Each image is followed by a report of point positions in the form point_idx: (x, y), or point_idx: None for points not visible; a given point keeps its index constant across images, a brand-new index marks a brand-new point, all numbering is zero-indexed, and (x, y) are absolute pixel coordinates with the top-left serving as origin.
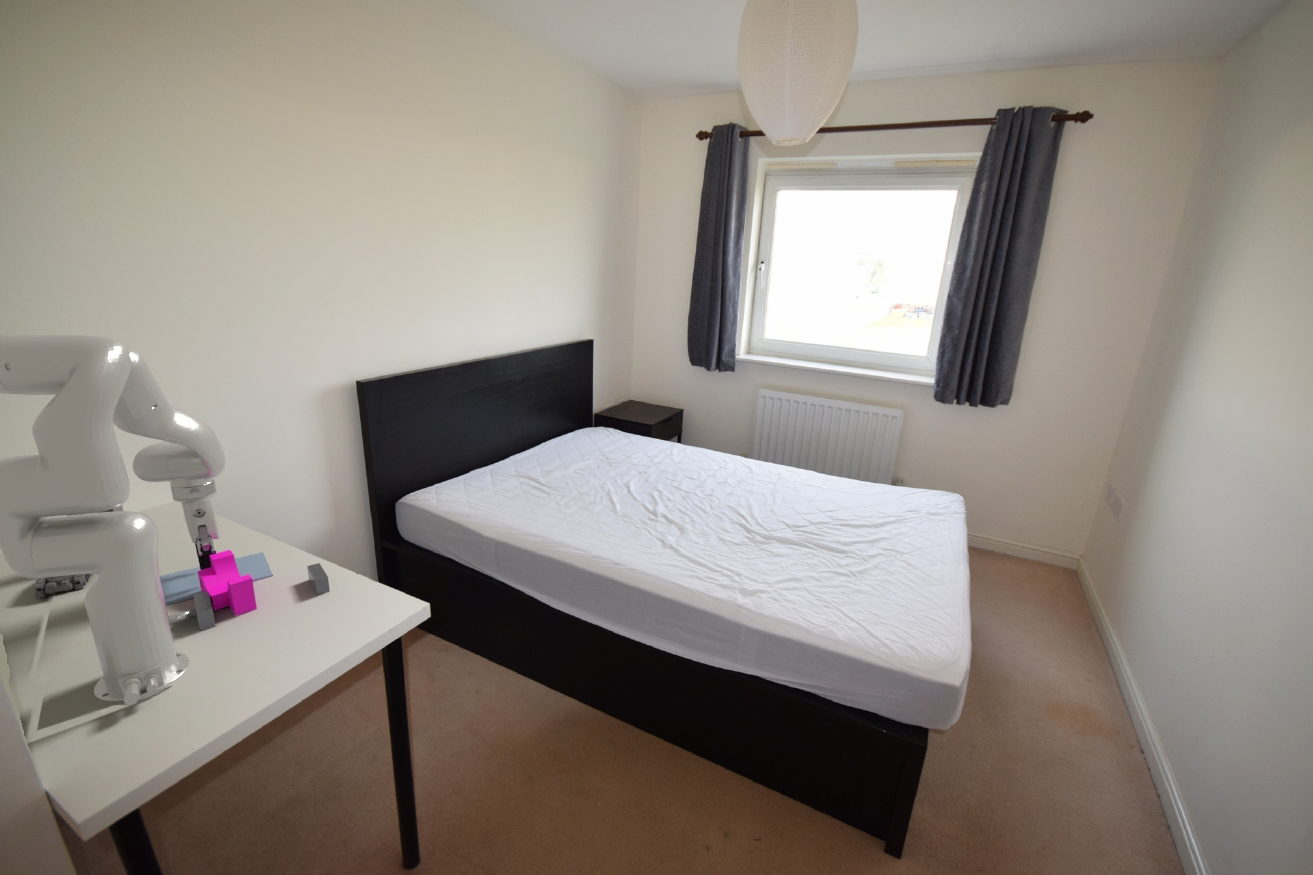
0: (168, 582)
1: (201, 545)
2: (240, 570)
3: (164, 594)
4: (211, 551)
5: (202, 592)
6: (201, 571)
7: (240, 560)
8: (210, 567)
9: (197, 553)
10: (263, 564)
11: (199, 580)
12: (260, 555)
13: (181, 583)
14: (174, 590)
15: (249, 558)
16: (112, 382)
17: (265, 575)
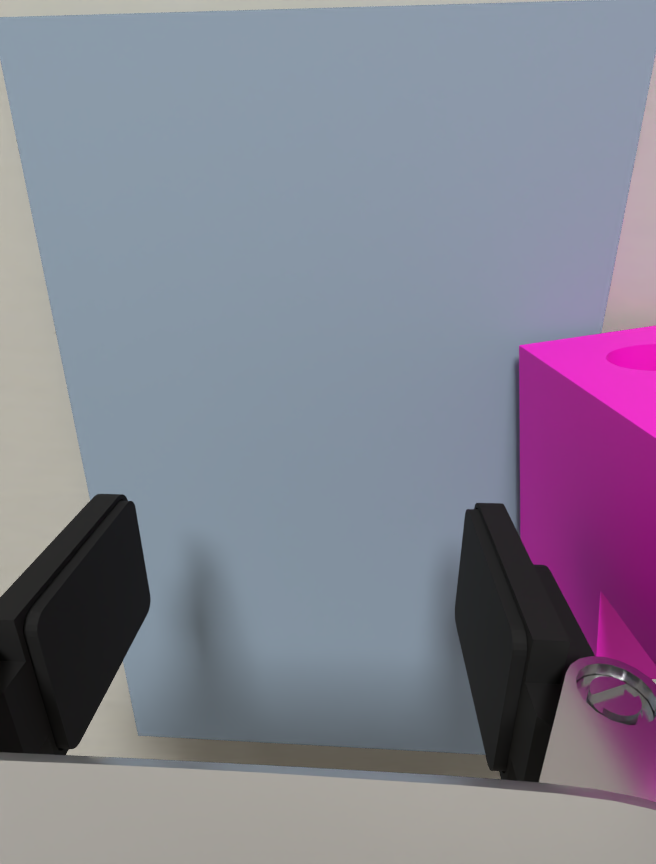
0: (251, 667)
1: (88, 669)
2: (334, 279)
3: (412, 692)
4: (120, 532)
5: None
6: (624, 660)
7: (109, 252)
8: (601, 598)
9: (128, 636)
10: (324, 58)
11: None
12: (73, 56)
13: (311, 619)
14: (394, 654)
15: (100, 172)
16: None
17: (617, 78)
